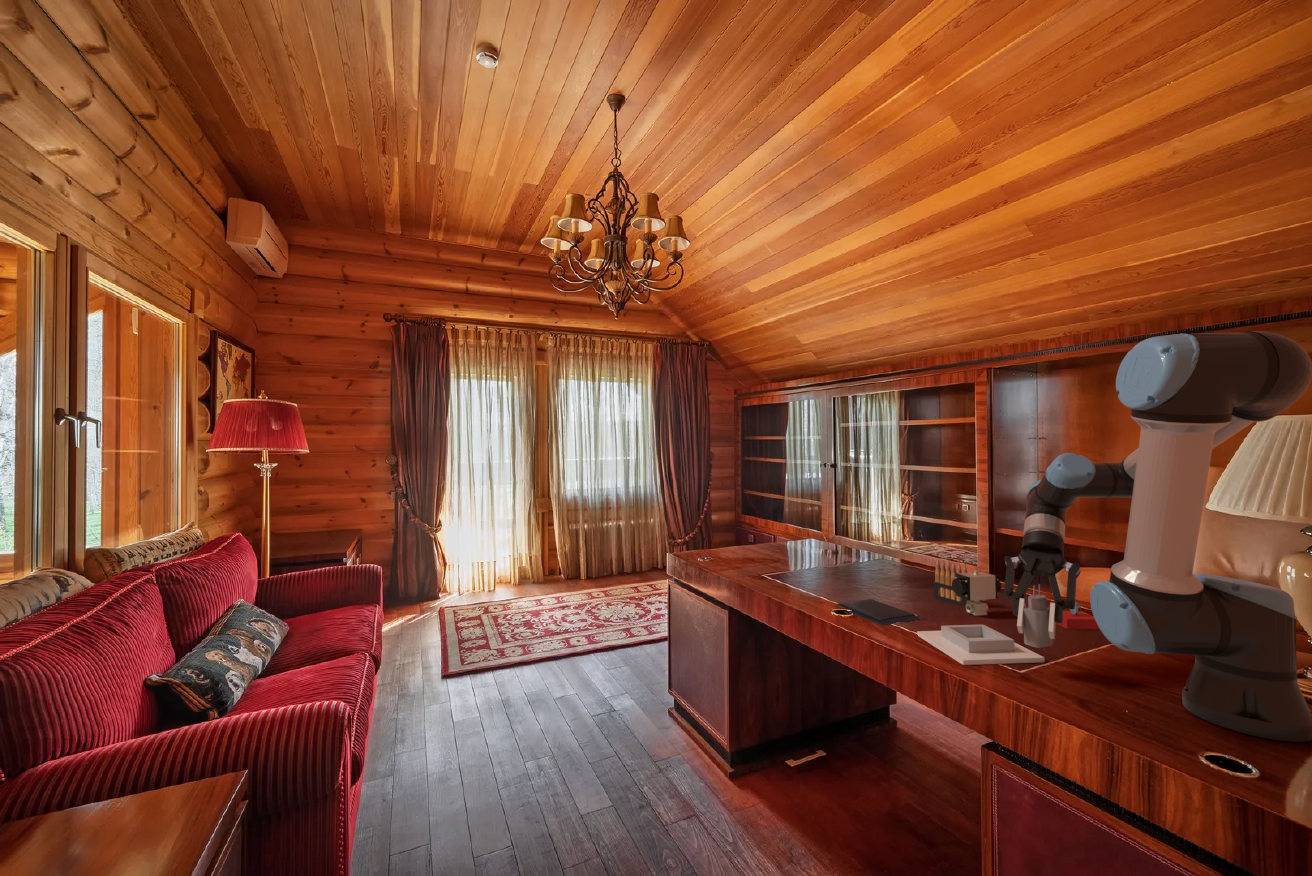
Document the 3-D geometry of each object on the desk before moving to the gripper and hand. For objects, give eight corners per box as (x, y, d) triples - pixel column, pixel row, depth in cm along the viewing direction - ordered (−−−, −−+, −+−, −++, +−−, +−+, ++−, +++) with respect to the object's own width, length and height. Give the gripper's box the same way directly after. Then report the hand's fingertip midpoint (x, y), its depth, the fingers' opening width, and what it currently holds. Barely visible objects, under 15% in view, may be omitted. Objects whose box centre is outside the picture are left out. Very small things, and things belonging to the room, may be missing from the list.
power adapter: (1054, 644, 109) (1052, 584, 110) (1039, 648, 107) (1036, 587, 107) (1038, 639, 112) (1036, 581, 113) (1022, 643, 110) (1020, 584, 110)
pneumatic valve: (1002, 615, 146) (1001, 571, 146) (963, 618, 144) (962, 573, 144) (987, 609, 151) (986, 567, 151) (949, 612, 150) (948, 568, 150)
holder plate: (1044, 662, 114) (1044, 645, 114) (963, 665, 113) (962, 648, 113) (988, 633, 132) (987, 619, 132) (917, 635, 131) (917, 621, 131)
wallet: (831, 600, 157) (873, 595, 162) (831, 607, 157) (874, 602, 162) (880, 621, 138) (926, 615, 143) (880, 628, 138) (926, 622, 143)
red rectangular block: (1082, 621, 141) (1081, 597, 141) (1101, 630, 134) (1100, 605, 134) (1049, 621, 142) (1049, 597, 142) (1067, 630, 135) (1066, 604, 135)
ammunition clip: (933, 598, 163) (932, 558, 163) (938, 597, 164) (937, 558, 164) (966, 607, 153) (965, 565, 154) (971, 606, 154) (970, 565, 154)
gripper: (1095, 554, 116) (1093, 652, 103) (1000, 545, 127) (987, 633, 115) (1092, 532, 112) (1090, 631, 99) (995, 525, 124) (981, 613, 111)
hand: (1035, 632), depth 107 cm, fingers closed on power adapter, 4 cm apart
